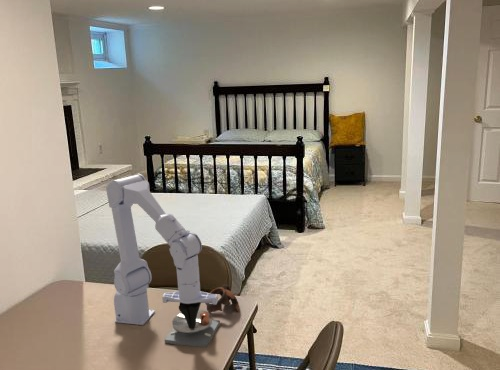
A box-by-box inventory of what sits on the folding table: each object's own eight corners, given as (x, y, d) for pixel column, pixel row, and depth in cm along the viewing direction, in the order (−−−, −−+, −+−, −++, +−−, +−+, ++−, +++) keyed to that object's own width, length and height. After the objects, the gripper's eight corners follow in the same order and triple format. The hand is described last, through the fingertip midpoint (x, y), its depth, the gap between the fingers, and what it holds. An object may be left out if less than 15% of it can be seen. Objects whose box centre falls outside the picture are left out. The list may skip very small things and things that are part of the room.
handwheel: (219, 331, 125) (217, 313, 124) (181, 344, 120) (179, 325, 119) (203, 314, 135) (201, 297, 133) (167, 325, 130) (166, 307, 128)
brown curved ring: (241, 318, 135) (227, 300, 132) (214, 329, 138) (199, 312, 134) (242, 291, 146) (229, 273, 142) (218, 301, 148) (204, 284, 145)
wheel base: (164, 342, 124) (164, 338, 123) (181, 319, 135) (181, 315, 135) (206, 347, 121) (206, 343, 120) (220, 323, 132) (219, 319, 132)
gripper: (218, 273, 121) (221, 319, 124) (166, 272, 123) (170, 317, 126) (213, 286, 114) (216, 334, 118) (157, 284, 116) (162, 331, 120)
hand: (192, 326), depth 122 cm, fingers closed
